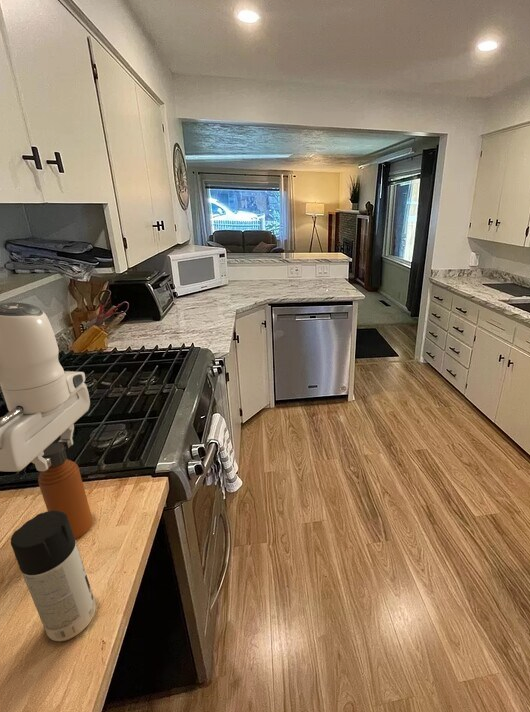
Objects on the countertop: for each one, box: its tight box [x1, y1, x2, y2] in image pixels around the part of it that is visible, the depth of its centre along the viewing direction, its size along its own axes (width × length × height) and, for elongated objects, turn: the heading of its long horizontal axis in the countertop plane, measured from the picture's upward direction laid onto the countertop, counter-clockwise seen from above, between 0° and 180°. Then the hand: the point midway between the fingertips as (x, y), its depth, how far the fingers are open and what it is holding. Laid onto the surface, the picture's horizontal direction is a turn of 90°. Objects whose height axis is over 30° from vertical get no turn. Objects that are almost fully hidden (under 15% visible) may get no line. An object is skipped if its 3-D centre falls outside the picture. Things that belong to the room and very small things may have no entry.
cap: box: [42, 442, 68, 468], centre depth 68 cm, size 4×4×3 cm
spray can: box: [10, 510, 96, 642], centre depth 54 cm, size 7×7×20 cm
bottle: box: [37, 458, 94, 540], centre depth 71 cm, size 6×6×19 cm
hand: (56, 457), depth 68 cm, fingers open, 5 cm apart
